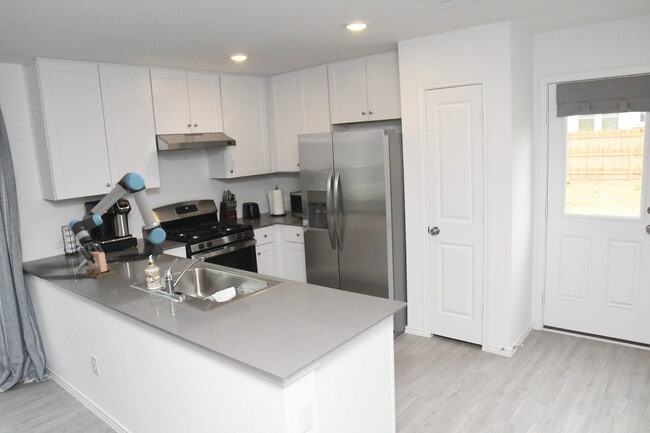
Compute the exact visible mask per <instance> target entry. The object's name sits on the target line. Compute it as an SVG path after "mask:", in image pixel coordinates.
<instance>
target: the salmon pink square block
mask: <svg viewBox="0 0 650 433" xmlns="http://www.w3.org/2000/svg"><path fill="white" fill-rule="evenodd" d="M103 252H104V251H103ZM103 252H95V251H91V253H92V256H93V258H95V259H96V261H97V262H98V264H99V267H98V268H97V267H96V265H95V264H93V263H92V261H90V269H92V270H97V271H101V272H104V271H107V267H108V266H107V260H106V255H105V252H104V253H103Z"/></svg>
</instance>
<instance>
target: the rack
mask: <svg viewBox="0 0 650 433" xmlns="http://www.w3.org/2000/svg"><path fill="white" fill-rule="evenodd" d="M115 272H116V271H115V270H113V268H112V267H108V266H107V271H104V272H101V271H97V270H92V269H91V268H87V269H86V273H84V276H85V277H89V278H92V279H93V278H94V279H101V278H104V277H107V275H108V276H110V275H114V274H115ZM100 277H101V278H100Z"/></svg>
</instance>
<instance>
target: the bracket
mask: <svg viewBox="0 0 650 433" xmlns="http://www.w3.org/2000/svg"><path fill="white" fill-rule="evenodd" d="M87 262H88V264H87V265H88V266H91V264H90V260H87V259H86V258H85V259H84V260H83V261H82V262H81V263H80V264H79V265H78V266H77V267H76V268H74V269H73V270H72V272H73V274H74V273H75V274H76V273H77V272H78V271H79V270H80V269H81V268H82V267H83V266H84V265H85V264H86V263H87Z"/></svg>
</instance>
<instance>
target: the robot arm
mask: <svg viewBox="0 0 650 433" xmlns="http://www.w3.org/2000/svg"><path fill="white" fill-rule="evenodd" d="M115 184H116V185H115V186H114V187H113V188H112V189H111V190H110V192H109V193H108V194H106V196H104V197H103V198H102V200H100V201H99V202H98V203H97V204H96V205H95V206H94V207H93V208H92V209H91V210H90V211H89V212H88V213H87V214H85V215H83V217H82V220H80V219H78V218H77V219H73V220H71V221H70V222H69V223H68V227H69V229H70V230H71V232H72V234H74V237H75V238H76V240H77V241H78V243H79V245H80V247H79V250H78V251H79V252H80V253H81V254H82V255H83V256H84V257H85V259H87V260H90V261H92V263H93V264H95V265H96V267H97V268H98V267H99V264H98V262H97V261H96V259H95V258H93V256H92V253H91V252H94V251H95V252H103V253H105V252H104V250H103V248H102V246H101V244H100V243H99V242H98V243H95V242H94V241H93V239H92V237H91V236H90V233H89V232H88V230H92V229H93V228H96V227H98V226H99V225H102V224H103V219H102V218H101V217H102V216H103V215H104V214H105V213H106V212H107V211H108V210H109V209H110V208H111V207H112V206H113V205H114V204H115V203H116V202H118V201H119V199H120V198H122V196H123V195H125V194H127V193H129V194H130V195H131V196H133V199H134V202H135V203H136V205H137V206H136V207H137V209H138V211H139V214H140V216H141V218H142V221H143V224H144V225H142V226H141V234H142V241H143V249H142V256H143V257H150V256H149V255H153V256H152V257H154V256H158V255H162V254H163V253H165V252H164V248H163V246H162V244H161V243H163V242H164V241H165V240H166V237H167V236H166V235H167V234H166V232H165V230H164V229H163V228H162V225H161V223H160V222H158V221H157V219H156V216H155V213H154V211H153V209H152V205H151V203H150V201H149V198H148V196H147V193H146V191H147V187H146V182H145V177H143V175H141V174H140V173H138V172H127V173H126V174H124V175H123V176H122V177H121V178H120V179H119V181H118V182H117V183H115Z"/></svg>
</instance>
